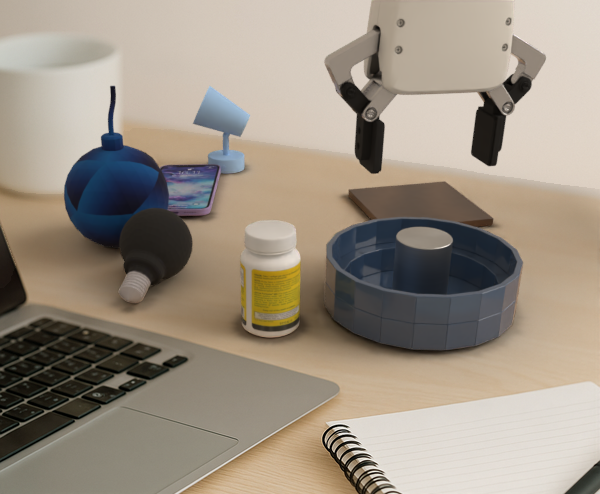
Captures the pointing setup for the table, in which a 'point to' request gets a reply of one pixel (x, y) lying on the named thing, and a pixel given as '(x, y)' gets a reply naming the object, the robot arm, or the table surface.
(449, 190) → the mat
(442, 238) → the tin
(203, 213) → the smartphone
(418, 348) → the bowl
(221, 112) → the spotlight
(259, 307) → the supplement bottle
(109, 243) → the bomb
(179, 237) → the light bulb
